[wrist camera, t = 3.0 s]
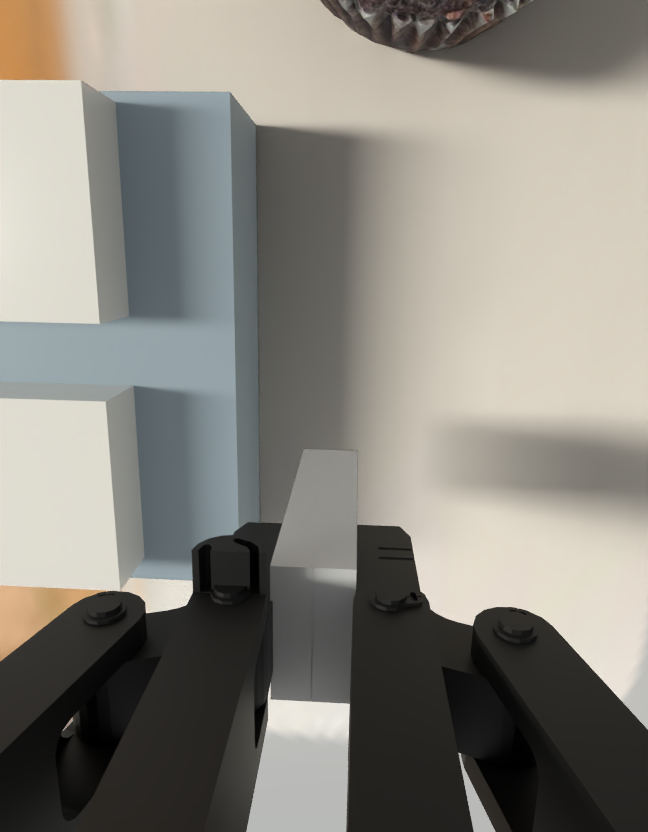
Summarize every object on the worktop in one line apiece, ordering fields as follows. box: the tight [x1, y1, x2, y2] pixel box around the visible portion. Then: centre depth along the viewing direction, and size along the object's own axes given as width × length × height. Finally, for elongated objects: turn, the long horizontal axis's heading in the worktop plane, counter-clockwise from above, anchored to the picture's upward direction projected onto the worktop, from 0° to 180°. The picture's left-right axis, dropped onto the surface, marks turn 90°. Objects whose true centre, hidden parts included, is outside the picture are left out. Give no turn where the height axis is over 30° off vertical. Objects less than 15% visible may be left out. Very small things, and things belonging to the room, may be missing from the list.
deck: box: [0, 91, 260, 580], centre depth 20 cm, size 14×16×4 cm
